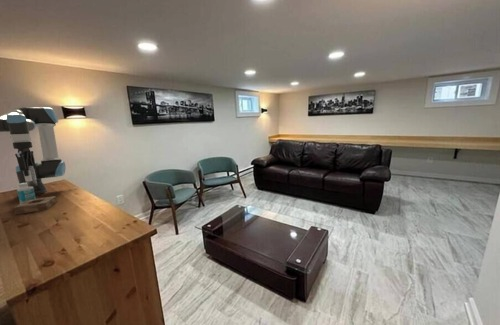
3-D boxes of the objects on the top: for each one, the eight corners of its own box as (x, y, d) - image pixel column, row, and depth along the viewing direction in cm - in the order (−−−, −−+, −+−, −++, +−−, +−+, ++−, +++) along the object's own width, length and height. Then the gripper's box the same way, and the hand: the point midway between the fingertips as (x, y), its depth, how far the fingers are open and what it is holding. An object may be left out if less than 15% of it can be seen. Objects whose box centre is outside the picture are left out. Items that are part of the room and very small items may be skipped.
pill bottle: (28, 204, 133) (22, 184, 130) (16, 205, 133) (11, 185, 130) (39, 200, 140) (35, 181, 137) (29, 200, 140) (24, 181, 138)
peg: (30, 185, 126) (25, 166, 124) (38, 184, 128) (34, 165, 125) (26, 187, 123) (21, 167, 120) (35, 186, 124) (30, 166, 122)
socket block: (28, 205, 131) (27, 199, 131) (57, 201, 137) (55, 195, 136) (15, 214, 119) (13, 207, 118) (47, 209, 124) (45, 203, 124)
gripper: (21, 141, 126) (30, 177, 131) (3, 143, 111) (14, 184, 115) (37, 140, 129) (45, 176, 134) (22, 142, 114) (31, 182, 118)
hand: (31, 180), depth 124 cm, fingers closed on peg, 4 cm apart
